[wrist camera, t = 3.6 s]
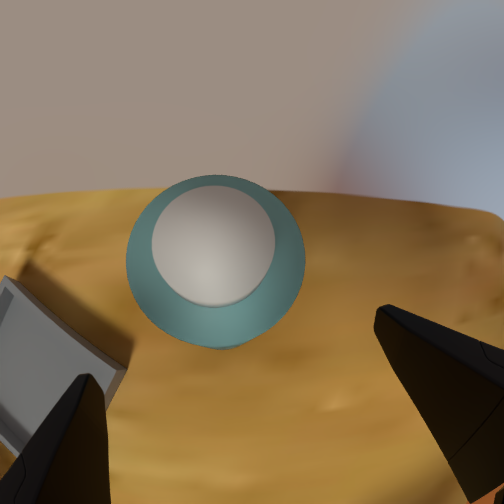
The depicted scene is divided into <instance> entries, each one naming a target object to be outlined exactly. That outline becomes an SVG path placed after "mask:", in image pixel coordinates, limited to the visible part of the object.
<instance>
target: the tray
mask: <svg viewBox="0 0 504 504" xmlns="http://www.w3.org/2000/svg"><path fill="white" fill-rule="evenodd" d="M126 371H127V369H126V368H125V367H123V366H122V365H120V364H119V363H117V362H116V361H114V360H113V359H112V358H110V357H109V356H107V355H106V354H105V353H103V352H102V351H100V350H99V349H98V348H96V347H95V346H94V345H92V344H91V343H90V342H88V341H87V340H86V339H84V338H83V337H82V336H80V335H79V334H78V333H77V332H75V331H74V330H73V329H72V328H70V327H69V326H68V325H67V324H66V323H64V322H63V321H62V320H61V319H59V318H58V317H57V316H56V315H55V314H54V313H52V312H51V311H50V310H49V309H48V308H47V307H46V306H44V305H43V304H42V303H41V302H40V301H39V300H38V299H37V298H36V297H35V296H34V295H32V294H31V293H30V292H29V291H28V290H27V289H26V288H25V287H24V286H23V285H22V284H21V283H20V282H18V281H16V280H14V279H12V278H10V277H8V276H6V275H4V277H3V279H2V281H1V283H0V441H1V442H2V443H3V444H4V445H5V446H6V447H7V448H8V449H9V450H10V451H11V452H12V453H13V454H14V455H15V456H16V457H18V456H19V454H20V453H22V450H23V448H24V447H25V446H26V444H27V443H28V441H29V440H30V438H31V437H32V436H33V434H34V433H35V431H36V430H37V429H38V427H39V426H40V424H41V423H42V422H43V420H44V419H45V418H46V416H47V415H48V414H49V412H50V411H51V410H52V408H53V407H54V406H55V404H56V403H57V402H58V400H59V399H60V398H61V396H62V395H63V394H64V392H65V391H66V390H67V388H68V387H69V386H70V385H71V383H72V382H73V381H74V379H75V378H76V377H77V376H78V375H79V374H84V373H90V374H92V375H93V376H94V378H95V379H96V381H97V382H98V384H99V385H100V387H101V388H102V390H103V392H104V396H105V410H107V408H108V406H109V404H110V402H111V400H112V398H113V396H114V394H115V392H116V391H117V389H118V387H119V385H120V383H121V381H122V379H123V377H124V375H125V373H126Z"/></svg>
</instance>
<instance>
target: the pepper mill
mask: <svg viewBox="0 0 504 504" xmlns="http://www.w3.org/2000/svg"><path fill="white" fill-rule="evenodd" d="M126 269H127V277H128V281H129V285H130V288H131V291H132V293H133V295H134V298H135V300H136V301H137V303H138V305H139V306H140V308H141V310H142V311H143V312H144V313H145V315H146V316H147V317H148V318H149V319H150V320H151V321H152V322H153V323H154V324H155V325H156V326H157V327H159V328H160V329H162V330H163V331H164V332H166V333H167V334H169V335H171V336H173V337H175V338H177V339H179V340H182V341H185V342H188V343H191V344H195V345H199V346H203V347H207V348H212V349H217V350H226V349H232V348H235V347H238V346H240V345H242V344H244V343H246V342H247V341H249V340H251V339H253V338H255V337H257V336H258V335H260V334H262V333H264V332H266V331H267V330H268V329H270V328H271V327H272V326H274V325H275V324H276V323H277V322H278V321H279V320H280V319H281V318H282V317H283V316H284V315H285V314H286V312H287V311H288V310H289V308H290V307H291V306H292V304H293V302H294V300H295V299H296V297H297V295H298V292H299V290H300V287H301V285H302V281H303V276H304V270H305V249H304V244H303V239H302V236H301V233H300V230H299V227H298V225H297V223H296V221H295V219H294V218H293V216H292V215H291V213H290V212H289V210H288V209H287V208H286V207H285V205H284V204H283V203H282V202H281V201H280V200H279V199H278V198H277V197H276V196H274V195H273V194H272V193H270V192H269V191H268V190H266V189H265V188H263V187H261V186H259V185H257V184H255V183H253V182H250V181H248V180H245V179H241V178H238V177H233V176H226V175H208V176H200V177H195V178H191V179H188V180H185V181H182V182H180V183H178V184H175V185H173V186H171V187H170V188H168V189H166V190H165V191H163V192H162V193H161V194H159V195H158V196H157V197H156V198H155V199H154V200H153V201H152V202H151V203H150V204H149V205H148V206H147V207H146V208H145V209H144V211H143V212H142V213H141V215H140V216H139V218H138V220H137V221H136V223H135V225H134V227H133V230H132V232H131V235H130V238H129V242H128V247H127V253H126Z"/></svg>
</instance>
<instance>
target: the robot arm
mask: <svg viewBox="0 0 504 504" xmlns="http://www.w3.org/2000/svg"><path fill="white" fill-rule="evenodd" d="M374 332H375V335H376V337H377V339H378V341H379V343H380V345H381V347H382V349H383V351H384V353H385V355H386V357H387V359H388V361H389V363H390V365H391V367H392V369H393V370H394V372H395V374H396V375H397V377H398V379H399V380H400V382H401V383H402V385H403V387H404V388H405V390H406V391H407V393H408V395H409V396H410V398H411V400H412V401H413V403H414V404H415V406H416V408H417V409H418V411H419V413H420V414H421V416H422V418H423V420H424V421H425V423H426V425H427V426H428V428H429V430H430V431H431V433H432V435H433V437H434V438H435V440H436V442H437V444H438V445H439V447H440V449H441V451H442V452H443V454H444V456H445V458H446V460H447V461H448V464H449V466H450V467H451V469H452V471H453V473H454V475H455V477H456V478H457V480H458V482H459V484H460V486H461V488H462V490H463V492H464V494H465V496H466V498H467V500H468V501H469V503H470V504H471V503H473V502H475V501H476V500H478V499H480V498H481V497H483V496H484V495H486V494H488V493H489V492H490V491H492V490H494V489H495V488H497V487H498V486H500V485H501V484H502V483H504V350H503V349H500V348H497V347H495V346H492V345H489V344H487V343H484V342H482V341H479V340H477V339H474V338H472V337H469V336H467V335H465V334H462V333H460V332H457V331H455V330H452V329H450V328H447V327H445V326H442V325H440V324H437V323H435V322H433V321H430V320H428V319H425V318H423V317H420V316H418V315H415V314H413V313H410V312H408V311H405V310H403V309H400V308H398V307H395V306H393V305H390V304H386V305H384V306H381V307H379V308H378V309H377V311H376V316H375V322H374ZM0 504H111V497H110V482H109V458H108V431H107V421H106V410H105V396H104V392H103V390H102V388H101V387H100V385H99V384H98V382H97V381H96V379H95V378H94V376H93V375H92V374H90V373H84V374H79V375H78V376H77V377H76V378H75V379H74V381H73V382H72V383H71V385H70V386H69V387H68V388H67V390H66V391H65V392H64V394H63V395H62V396H61V398H60V399H59V400H58V402H57V403H56V404H55V406H54V407H53V408H52V410H51V411H50V412H49V414H48V415H47V416H46V418H45V419H44V420H43V422H42V423H41V424H40V426H39V427H38V429H37V430H36V431H35V433H34V434H33V436H32V437H31V438H30V440H29V441H28V443H27V444H26V446H25V447H24V448H23V450H22V453H20V454H19V456H18V457H17V458H16V460H15V461H14V463H13V464H12V466H11V467H10V468H9V470H8V471H7V473H6V474H5V475H4V476H3V478H2V479H1V480H0ZM494 504H504V486H503V487H502V488H501V489H500V490H499V491H498V492H497V493H496V495H495V500H494Z"/></svg>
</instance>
